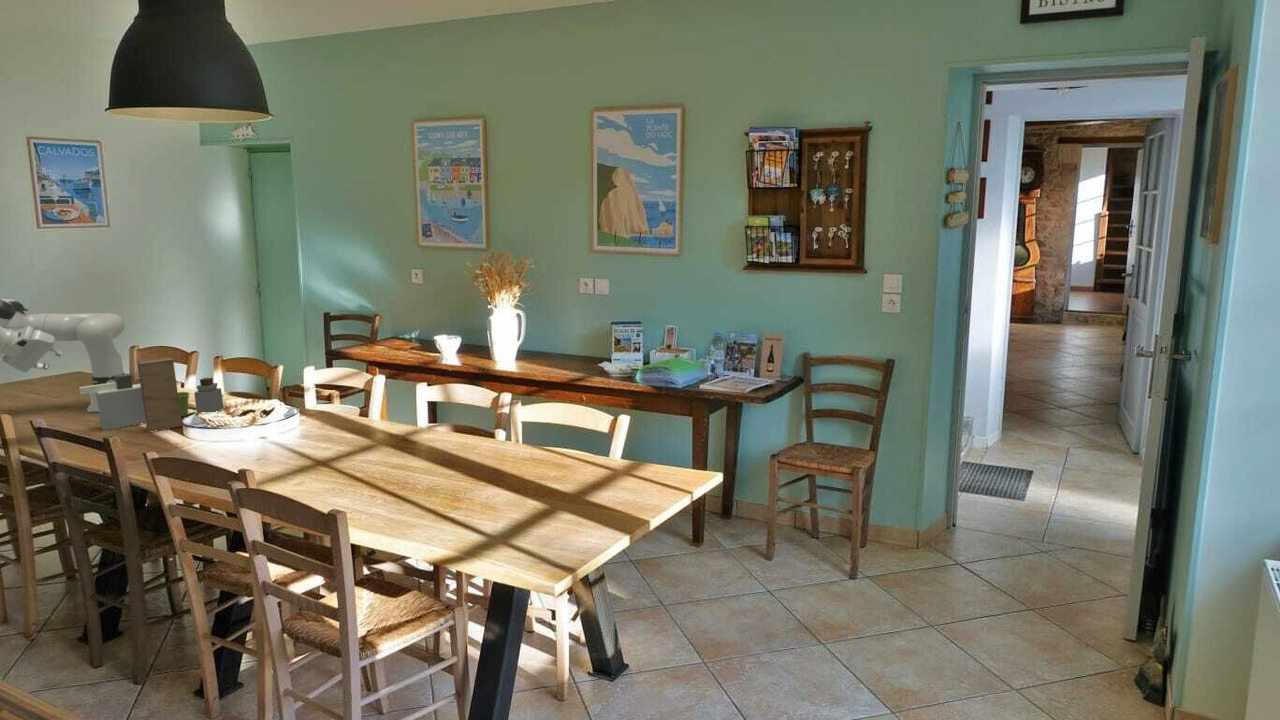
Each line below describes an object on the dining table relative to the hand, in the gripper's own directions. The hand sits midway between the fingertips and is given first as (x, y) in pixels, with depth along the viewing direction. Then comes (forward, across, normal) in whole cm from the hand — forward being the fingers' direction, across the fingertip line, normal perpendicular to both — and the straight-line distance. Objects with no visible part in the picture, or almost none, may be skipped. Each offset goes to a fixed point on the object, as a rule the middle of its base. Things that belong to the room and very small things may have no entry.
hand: (54, 360), depth 339 cm
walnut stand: (+39, +9, -18) cm, 44 cm away
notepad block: (+32, -6, -11) cm, 34 cm away
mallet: (+20, -1, -3) cm, 20 cm away
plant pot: (+48, +2, -4) cm, 48 cm away
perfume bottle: (+50, +22, -20) cm, 59 cm away
